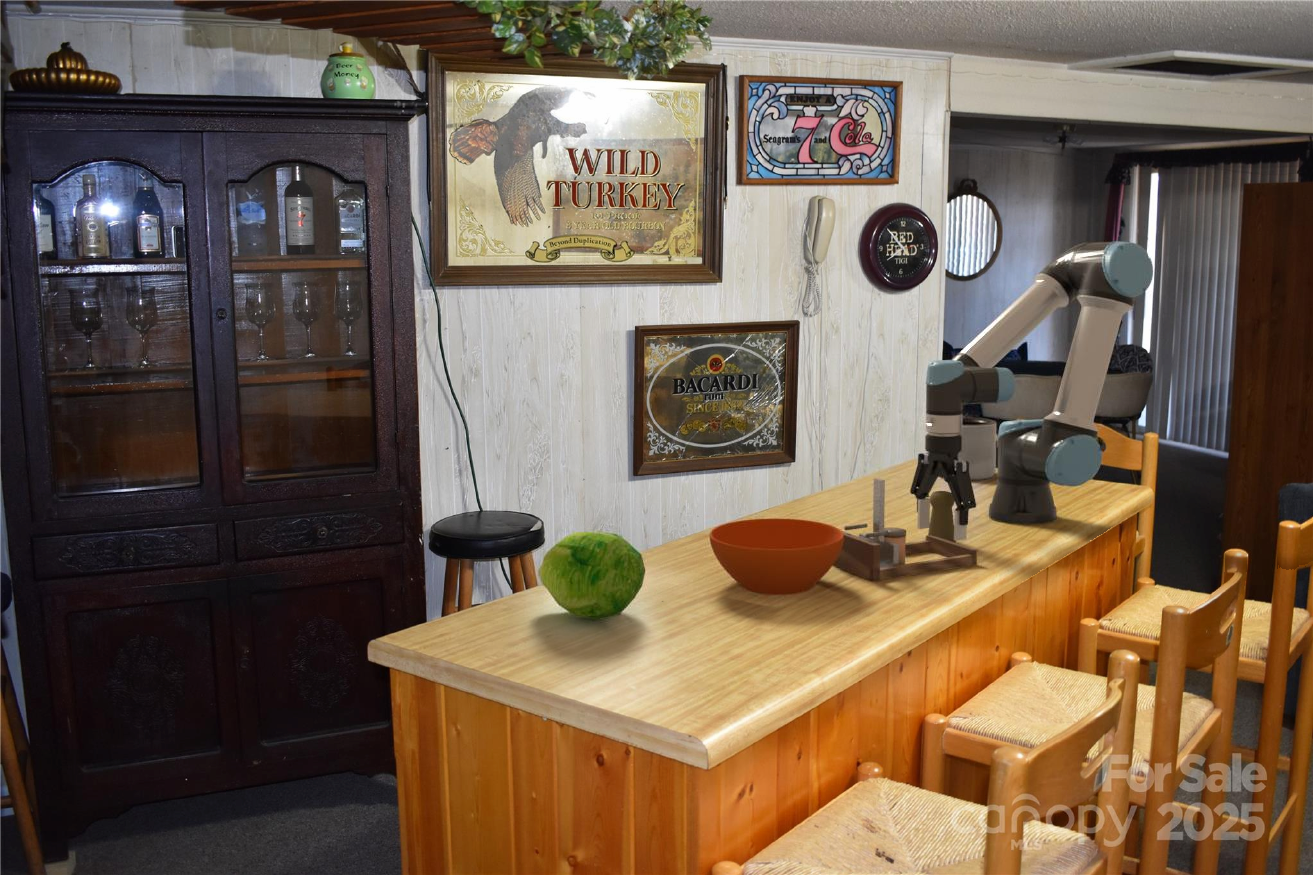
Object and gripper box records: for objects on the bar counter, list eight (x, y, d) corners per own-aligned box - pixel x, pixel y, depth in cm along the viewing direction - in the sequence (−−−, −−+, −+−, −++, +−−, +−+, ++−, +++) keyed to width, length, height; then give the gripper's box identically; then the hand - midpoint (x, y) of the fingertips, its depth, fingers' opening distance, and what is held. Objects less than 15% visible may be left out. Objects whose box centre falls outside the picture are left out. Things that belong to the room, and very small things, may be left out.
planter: (938, 481, 313) (939, 425, 311) (933, 470, 329) (934, 417, 327) (998, 482, 311) (1000, 425, 308) (991, 471, 326) (993, 417, 324)
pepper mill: (956, 545, 243) (957, 494, 242) (927, 544, 245) (928, 494, 243) (955, 538, 249) (956, 489, 248) (926, 537, 250) (927, 488, 249)
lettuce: (580, 607, 212) (579, 525, 212) (664, 616, 199) (663, 529, 199) (514, 619, 199) (512, 532, 199) (599, 630, 186) (597, 537, 186)
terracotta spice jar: (894, 561, 232) (895, 526, 230) (911, 567, 227) (911, 531, 226) (873, 564, 229) (874, 529, 228) (889, 570, 225) (890, 534, 224)
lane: (930, 548, 241) (931, 509, 240) (976, 564, 228) (977, 523, 227) (830, 564, 230) (830, 523, 229) (873, 581, 218) (873, 538, 216)
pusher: (863, 559, 232) (864, 474, 229) (898, 572, 222) (899, 483, 219) (858, 560, 232) (859, 474, 229) (893, 573, 221) (894, 484, 219)
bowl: (755, 612, 200) (755, 556, 199) (686, 578, 222) (685, 528, 221) (871, 591, 212) (871, 538, 210) (794, 561, 234) (794, 513, 232)
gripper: (894, 428, 252) (893, 524, 256) (967, 442, 231) (964, 547, 234) (922, 425, 256) (920, 521, 259) (996, 439, 234) (993, 543, 238)
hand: (941, 533), depth 247 cm, fingers open, 11 cm apart
